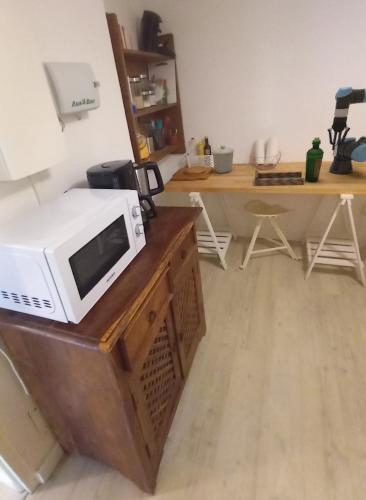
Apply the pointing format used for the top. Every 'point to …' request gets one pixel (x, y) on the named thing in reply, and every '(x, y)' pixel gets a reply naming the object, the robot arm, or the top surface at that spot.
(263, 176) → the u rest
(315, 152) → the bottle
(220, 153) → the canister
